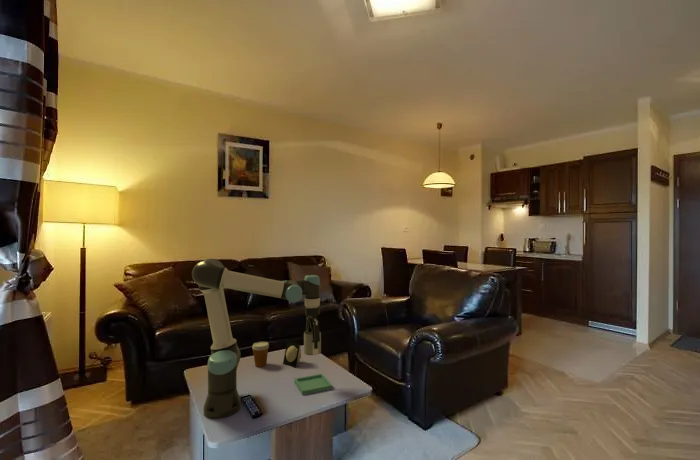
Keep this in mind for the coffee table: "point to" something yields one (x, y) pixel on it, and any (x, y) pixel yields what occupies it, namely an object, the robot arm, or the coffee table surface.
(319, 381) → the tray
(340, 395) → the coffee table surface
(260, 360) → the disposable coffee cup
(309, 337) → the cup
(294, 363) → the decorative object
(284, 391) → the coffee table surface
